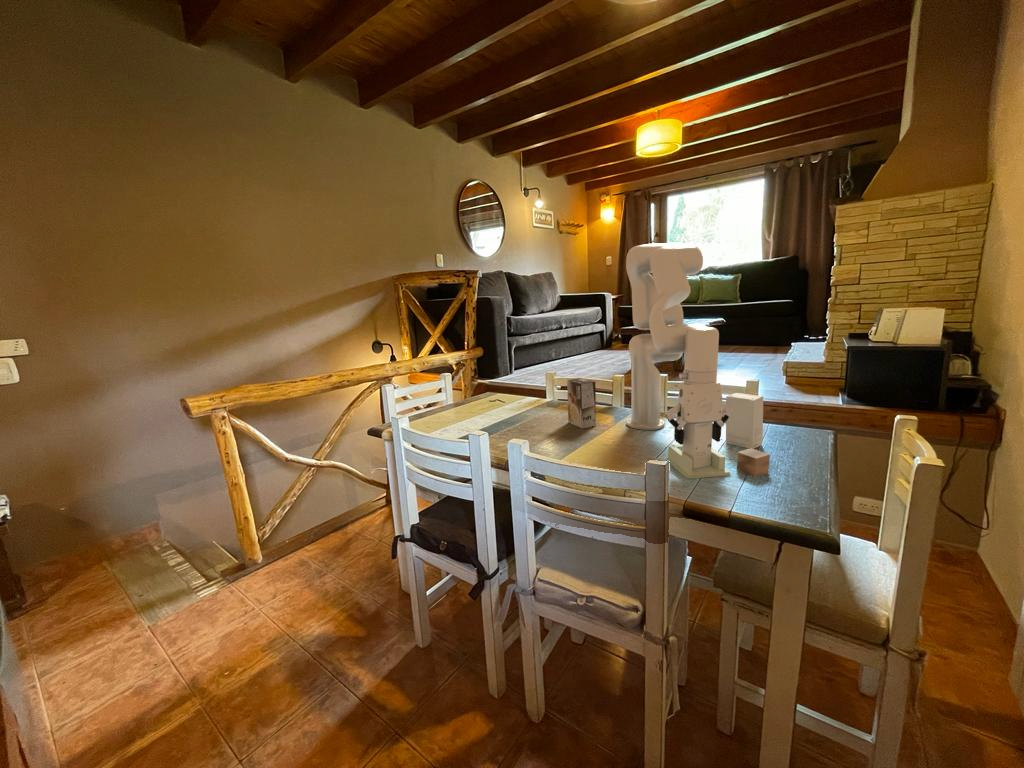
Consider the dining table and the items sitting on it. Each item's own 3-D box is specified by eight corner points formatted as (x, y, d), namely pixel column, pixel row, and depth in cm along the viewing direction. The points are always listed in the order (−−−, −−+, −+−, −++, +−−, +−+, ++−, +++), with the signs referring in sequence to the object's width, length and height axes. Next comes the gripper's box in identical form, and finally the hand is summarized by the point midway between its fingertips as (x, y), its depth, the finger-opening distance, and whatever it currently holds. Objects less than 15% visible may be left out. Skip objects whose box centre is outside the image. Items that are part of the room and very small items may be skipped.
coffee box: (597, 425, 149) (596, 381, 145) (582, 429, 146) (581, 384, 142) (581, 419, 157) (580, 377, 153) (567, 422, 154) (566, 379, 150)
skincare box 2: (762, 445, 123) (766, 396, 120) (751, 450, 120) (755, 399, 116) (734, 438, 130) (737, 391, 127) (723, 442, 126) (725, 394, 123)
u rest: (666, 460, 116) (666, 445, 115) (704, 457, 117) (705, 442, 116) (687, 478, 104) (687, 462, 103) (729, 475, 105) (730, 458, 104)
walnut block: (736, 470, 108) (737, 452, 107) (749, 466, 110) (750, 448, 109) (754, 477, 103) (756, 458, 102) (768, 473, 105) (769, 454, 104)
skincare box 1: (693, 469, 107) (695, 424, 105) (680, 463, 111) (682, 419, 109) (712, 465, 109) (714, 420, 107) (698, 459, 114) (700, 416, 111)
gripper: (673, 382, 101) (671, 449, 105) (742, 377, 102) (738, 443, 106) (660, 376, 109) (658, 439, 112) (724, 371, 110) (721, 434, 113)
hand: (697, 441), depth 109 cm, fingers open, 9 cm apart
